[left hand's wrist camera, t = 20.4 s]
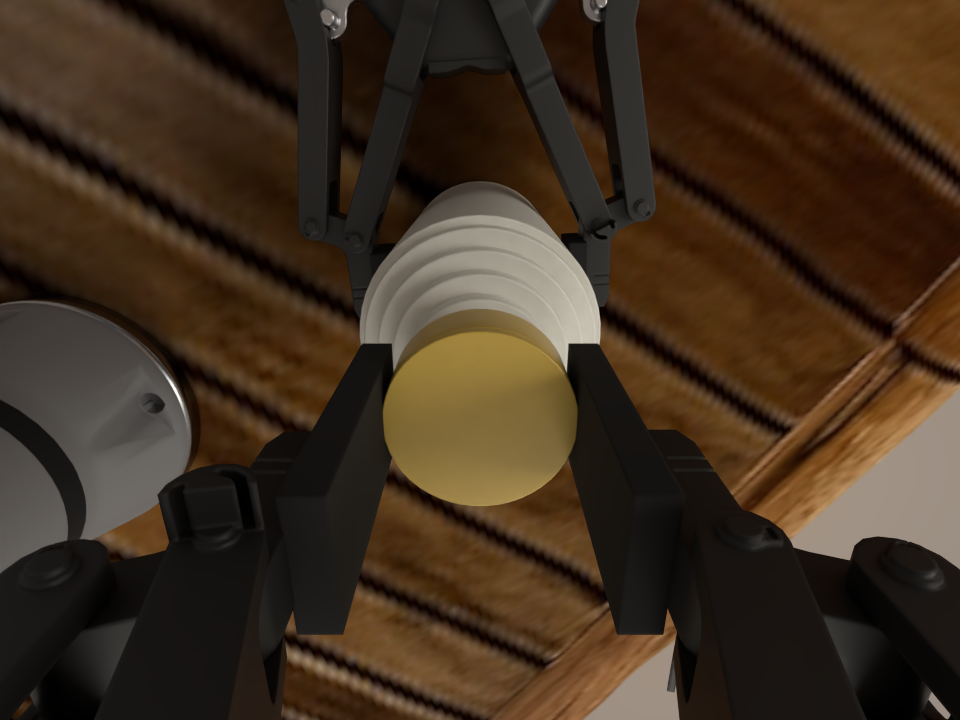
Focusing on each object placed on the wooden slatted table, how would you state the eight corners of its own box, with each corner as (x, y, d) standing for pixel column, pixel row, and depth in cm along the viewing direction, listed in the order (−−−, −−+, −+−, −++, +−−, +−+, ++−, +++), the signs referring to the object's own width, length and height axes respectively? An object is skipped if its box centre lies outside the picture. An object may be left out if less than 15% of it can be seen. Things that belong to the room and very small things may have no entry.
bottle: (526, 333, 34) (582, 570, 15) (398, 300, 33) (292, 508, 15) (567, 203, 31) (699, 299, 12) (428, 163, 30) (346, 202, 12)
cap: (357, 399, 15) (342, 432, 13) (471, 270, 13) (470, 288, 12) (487, 495, 16) (488, 537, 14) (603, 384, 14) (620, 416, 13)
